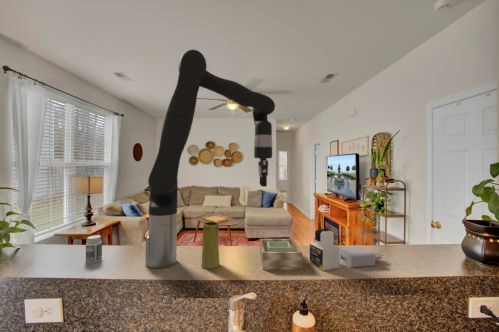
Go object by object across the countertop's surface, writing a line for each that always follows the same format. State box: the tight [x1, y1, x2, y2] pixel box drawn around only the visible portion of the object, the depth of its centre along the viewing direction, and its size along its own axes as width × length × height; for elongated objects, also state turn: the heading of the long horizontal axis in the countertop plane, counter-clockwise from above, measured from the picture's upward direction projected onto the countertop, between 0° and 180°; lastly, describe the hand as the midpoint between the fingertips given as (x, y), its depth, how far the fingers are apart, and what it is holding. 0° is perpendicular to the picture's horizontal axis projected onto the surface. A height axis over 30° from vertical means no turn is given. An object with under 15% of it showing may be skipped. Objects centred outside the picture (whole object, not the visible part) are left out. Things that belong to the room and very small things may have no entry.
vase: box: [201, 221, 220, 270], centre depth 76 cm, size 6×6×14 cm
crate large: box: [259, 238, 303, 271], centre depth 81 cm, size 13×15×6 cm
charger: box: [338, 245, 384, 268], centre depth 80 cm, size 5×9×15 cm
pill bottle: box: [85, 234, 103, 264], centre depth 79 cm, size 5×5×8 cm
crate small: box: [267, 242, 292, 252], centre depth 81 cm, size 8×6×5 cm
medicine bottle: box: [309, 228, 341, 272], centre depth 77 cm, size 7×7×12 cm
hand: (263, 185), depth 93 cm, fingers open, 8 cm apart
